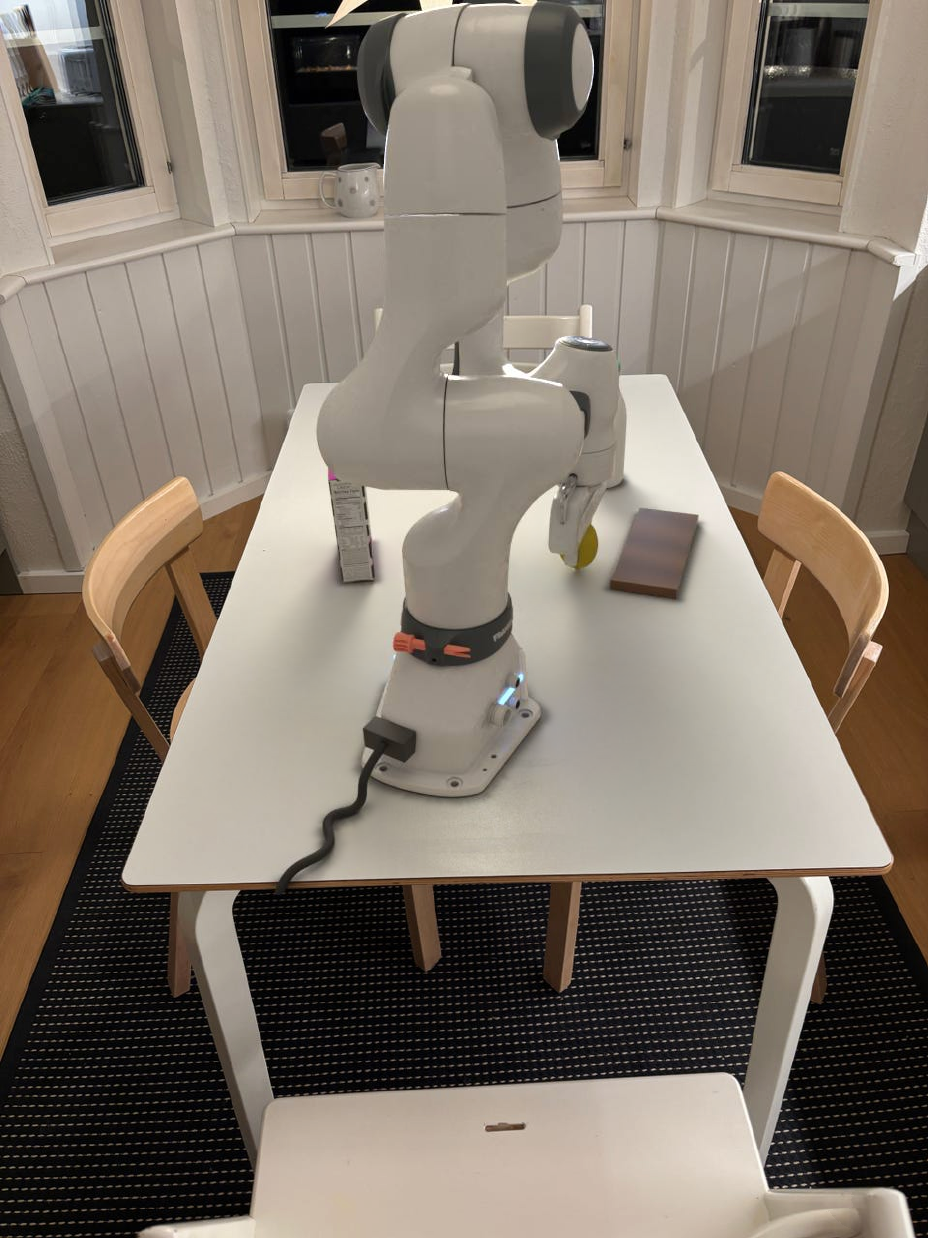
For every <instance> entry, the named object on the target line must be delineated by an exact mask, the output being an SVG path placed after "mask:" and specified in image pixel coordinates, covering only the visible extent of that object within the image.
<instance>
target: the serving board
mask: <svg viewBox="0 0 928 1238" xmlns="http://www.w3.org/2000/svg"><path fill="white" fill-rule="evenodd" d="M698 522H699V514H695V513H688V512H687V513H686V512H679V511H672V510H671V511H670V510H664V509H663V510H662V509H655V508H654V509H653V508H648V507H646V508H645V507H639V508H638V509H637V512H636V515H635V517H634V520H633V522H632V525H631V527H630V530H629V531H628V535H627V537H626V540H625V542H624V544H623V547H622V550H621V552H620V555H619V557H618V559H617V563H616V565H615V566H614V567H615V568H614V570H613V573H612V574H611V577H610V580H609V581H610V582H609V590H613V591H619V592H620V591H621V592H626V593H627V592H628V593H632V594H633V593H634V594H640V595H648V596H654V597H659V598H660V597H661V598H667V599H674V600H677V597H678V594H679V590H680V587H681V583H682V580H683V576H684V573H685V569H686V565H687V562H688V559H689V555H690V551H691V548H692V545H693V541H694V538H695V534H696V530H697V527H698V524H699V523H698Z"/></svg>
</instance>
